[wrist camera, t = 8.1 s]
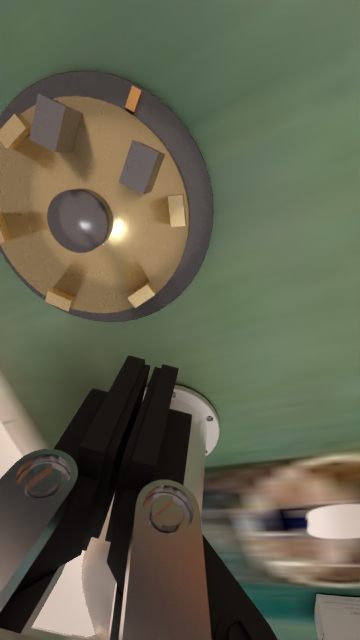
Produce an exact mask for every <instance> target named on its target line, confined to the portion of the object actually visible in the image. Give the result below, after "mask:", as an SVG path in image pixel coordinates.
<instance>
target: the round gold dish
mask: <svg viewBox="0 0 360 640" xmlns="http://www.w3.org/2000/svg"><path fill="white" fill-rule="evenodd" d="M189 229H190V203H189V196H188V191H187V187H186V184H185V180H184V177H183V175H182V172H181V170H180V168H179V165H178V163H177V162H176V160H175V158H174V156H173V155H172V153H171V151H170V150H169V148H168V147H167V146H166V144H165V143H164V142H163V140H162V139H161V138H160V137H159V136H158V135H157V134H156V133H155V132H154V131H153V130H152V129H151V128H150V127H149V126H148V125H146V124H145V123H144V122H142V121H141V120H140V119H139V118H137V117H135V116H134V115H132V114H130V113H128V112H127V111H125V110H123V109H121V108H120V107H118V106H115V105H113V104H110V103H108V102H105V101H102V100H98V99H94V98H90V97H81V96H66V97H57V98H53V99H51V98H49V97H46V96H43V95H41V94H38V96H37V101H36V105H34V106H32V107H30V108H29V109H27V110H26V111H24V112H23V113H21V114H20V115H19V114H14V115H13V116H12V117H11V118H10V119H9V120H8V121H7V123H6V124H5V125H4V126H3V127H2V128H1V129H0V245H1V247H2V249H3V251H4V253H5V254H6V256H7V258H8V259H9V261H10V262H11V264H12V265H13V266H14V267H15V269H16V270H17V271H18V272H19V274H20V275H21V276H22V277H23V278H24V279H25V280H26V281H27V282H28V283H29V284H30V285H32V286H33V287H34V288H35V289H37V290H38V291H39V292H40V293H42V294H43V295H45V296H46V299H45V302H47V303H50V304H52V305H54V306H56V307H59V308H61V309H63V310H65V311H70V310H71V309H75V310H79V311H83V312H91V313H113V312H119V311H123V310H127V309H130V308H133V307H135V308H136V307H138V306H139V305H141V304H142V303H144V302H145V301H147V300H149V299H150V298H151V297H153V296H154V295H155V294H156V293H158V292H159V291H160V290H161V289H162V288H163V287H164V286H165V284H166V283H167V282H168V281H169V279H170V278H171V276H172V275H173V274H174V272H175V270H176V268H177V266H178V264H179V262H180V260H181V258H182V256H183V253H184V250H185V248H186V245H187V240H188V236H189Z"/></svg>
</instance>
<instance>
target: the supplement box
mask: <svg viewBox="0 0 360 640" xmlns="http://www.w3.org/2000/svg"><path fill="white" fill-rule="evenodd" d="M314 618H315V624H316V629H317V635H318V640H360V597H344V596H333V595H323V594H316V603H315V612H314Z"/></svg>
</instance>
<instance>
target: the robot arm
mask: <svg viewBox="0 0 360 640" xmlns="http://www.w3.org/2000/svg"><path fill="white" fill-rule="evenodd" d="M178 369H179V368H175V367H171V366H167V365H162V368H157V367H155V369H154V371H153V374H152V377H151V380H150V382H149V385H148V387H146V383H147V379H148V374H149V370H150V366H149V365H146V364H145V360H144V359H140V358H136V357H133V356H128V357H127V359H126V361H125V363H124V365H123V367H122V368H121V370H120V372H119V374H118V376H117V378H116V379H115V381H114V383H113V385H112V387H111V389H110V391H109V392H105V391H101V390H98V389H94V388H93V389H92V390H91V391H90V392H89V394H88V396H87V397H86V399H85V400H84V402H83V404H82V405H81V407H80V408H79V410H78V411H77V413H76V415H75V416H74V418H73V419H72V421H71V423H70V424H69V426H68V427H67V429H66V430H65V432H64V434H63V435H62V437H61V438H60V440H59V442H58V443H57V445H56V446H55V448H54V449H42V450H38V451H34V452H31V453H29V454H27V455H25V456H23V457H22V458H21V459H20V460H19V461H17V462H16V463H15V464H14V465H13V466H12V467H11V468H10V469H9V470H8V471H7V472H6V473H5V474H4V475H3V476H2V478H1V479H0V640H280V639H278V638H276V636H275V634H274V633H273V631H272V629H271V627H270V626H269V624H268V623H267V621H266V620H265V619H264V617H263V616H262V615H261V613H260V612H259V610H258V609H257V608H256V606H255V605H254V604H253V602H252V601H251V600H250V598H249V597H248V596H247V594H246V593H245V591H244V590H243V589H242V587H241V586H240V585H239V583H238V582H237V581H236V579H235V578H234V576H233V575H232V574H231V572H230V571H229V570H228V568H227V567H226V566H225V564H224V563H223V561H222V560H221V559H220V557H219V556H218V555H217V553H216V552H215V551H214V549H213V548H212V547H211V545H210V544H209V542H208V541H207V540H206V538H205V537H204V536H203V534H202V526H201V515H202V499H203V484H204V469H205V457H206V456H207V455H208V454H209V453H210V452H211V451H212V450H213V449H214V448H215V446H216V444H217V442H218V439H219V432H220V426H219V419H218V416H217V413H216V411H215V410H214V408H213V406H212V405H211V404H210V403H209V402H208V401H207V400H206V399H205V398H204V397H203V396H201V395H200V394H198V393H197V392H195V391H193V390H191V389H188V388H186V387H183V386H178V385H175V382H176V378H177V374H178ZM82 550H85V554H84V557H83V564H82V585H83V592H84V596H85V600H86V605H87V608H88V611H89V615H90V617H91V621H92V624H93V627H94V631H95V634H96V635H94V636H92V637H84V636H77V635H67V634H62V633H58V632H54V631H49V630H45V629H41V628H36V627H32V625H33V623H34V622H35V620H36V618H37V616H38V615H39V613H40V611H41V609H42V607H43V606H44V604H45V602H46V600H47V599H48V597H49V595H50V593H51V591H52V590H53V588H54V586H55V584H56V583H57V581H58V579H59V577H60V575H61V574H62V571H63V569H64V566H65V564H66V563H67V562H69V561H70V560H72V559H74V558H76V557H78V556H79V555H81V553H82Z"/></svg>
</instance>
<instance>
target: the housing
mask: <svg viewBox="0 0 360 640" xmlns="http://www.w3.org/2000/svg"><path fill="white" fill-rule="evenodd" d="M38 94H41V95H43V96H46V97H49V98H51V99H53V98H57V97H66V96H81V97H90V98H94V99H98V100H102V101H105V102H108V103H110V104H113V105H115V106H118V107H120V108H121V109H123V110H125V111H127V112H128V113H130V114H132V115H134V116H135V117H137V118H139V119H140V120H141V121H142V122H144V123H145V124H146V125H148V126H149V127H150V128H151V129H152V130H153V131H154V132H155V133H156V134H157V135H158V136H159V137H160V138H161V139H162V140H163V142H164V143H165V144H166V146H167V147H168V148H169V150H170V151H171V153H172V155H173V156H174V158H175V160H176V162H177V163H178V165H179V168H180V170H181V172H182V175H183V177H184V180H185V184H186V187H187V191H188V196H189V203H190V229H189V236H188V240H187V245H186V248H185V250H184V253H183V256H182V258H181V260H180V262H179V264H178V266H177V268H176V270H175V272H174V274H173V275H172V276H171V278H170V279H169V281H168V282H167V283H166V284H165V286H164V287H163V288H162V289H161V290H160V291H159V292H158V293H156V294H155V295H154V296H153V297H151V298H150V299H149V300H147V301H145V302H144V303H142V304H141V305H139V306H138V307H136V308H135V307H133V308H130V309H127V310H123V311H119V312H113V313H91V312H83V311H79V310H75V309H71V310H70V311H65V310H63V309H61V308H59V307H57V308H58V309H61V310H63V311H65V312H67V313H69V314H72V315H75V316H78V317H81V318H84V319H89V320H94V321H103V322H123V321H129V320H134V319H138V318H141V317H145V316H148V315H150V314H152V313H154V312H156V311H159V310H160V309H162V308H163V307H165V306H167V305H168V304H170V303H171V302H172V301H173V300H175V299H176V298H177V297H178V296H179V295H180V294H181V293H182V292H183V291H184V290H185V289H186V288H187V287H188V285H189V284H190V283H191V281H192V280H193V278H194V277H195V275H196V274H197V272H198V270H199V268H200V266H201V264H202V262H203V260H204V258H205V255H206V252H207V249H208V246H209V241H210V236H211V231H212V225H213V194H212V189H211V183H210V178H209V175H208V172H207V168H206V165H205V162H204V160H203V157H202V155H201V153H200V151H199V149H198V146H197V144H196V143H195V141H194V140H193V138H192V136H191V135H190V133H189V132H188V130H187V129H186V127H185V126H184V125H183V124H182V123H181V121H180V120H179V119H178V118H177V116H176V115H175V114H174V113H173V112H172V111H171V110H170V109H169V108H168V107H166V106H165V105H164V104H163V103H162V102H161V101H160V100H159V99H157V98H156V97H155V96H153V95H152V94H150V93H149V92H148V91H146V90H145V89H143V88H141V87H139V86H137V85H135V84H134V83H132V82H130V81H128V80H125V79H122V78H119V77H116V76H113V75H110V74H105V73H99V72H93V71H73V72H67V73H61V74H56V75H54V76H51V77H48V78H45V79H42V80H40V81H38V82H37V83H35V84H33V85H31V86H30V87H28V88H26V89H25V90H24V91H23V92H21V93H20V94H19V95H18V96H17V97H15V98H14V99H13V101H12V102H11V103H10V104H9V105H8V106H7V107H6V108H5V110H4V111H3V112H2V114H1V116H0V129H1V128H2V127H3V126H4V125H5V124H6V123H7V121H8V120H9V119H10V118H11V117H12V116H13V115H14V114H19V115H20V114H21V113H23V112H24V111H26V110H27V109H29V108H30V107H32V106H34V105H36V101H37V96H38ZM0 251H1V253H2V255H3V256H4V258H5V260H6V261H7V263H8V264H9V265H10V267H11V268H12V269H13V271H14V272H15V273H16V274H17V276H18V277H19V278H20V279H21V280H22V281H23V282H24V283H25V284H26V285H27V286H28V287H29V288H30V289H31V290H32V291H33V292H35V293H36V294H37V295H38V296H40V297H41V298H42V299H44V300H45V299H46V296H45V295H43V294H42V293H40V292H39V291H38V290H37V289H35V288H34V287H33V286H32V285H30V284H29V283H28V282H27V281H26V280H25V279H24V278H23V277H22V276H21V275H20V274H19V272H18V271H17V270H16V269H15V267H14V266H13V265H12V264H11V262H10V261H9V259H8V258H7V256H6V254H5V253H4V251H3V249H2V247H1V245H0ZM53 306H54V305H53ZM55 307H56V306H55Z"/></svg>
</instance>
